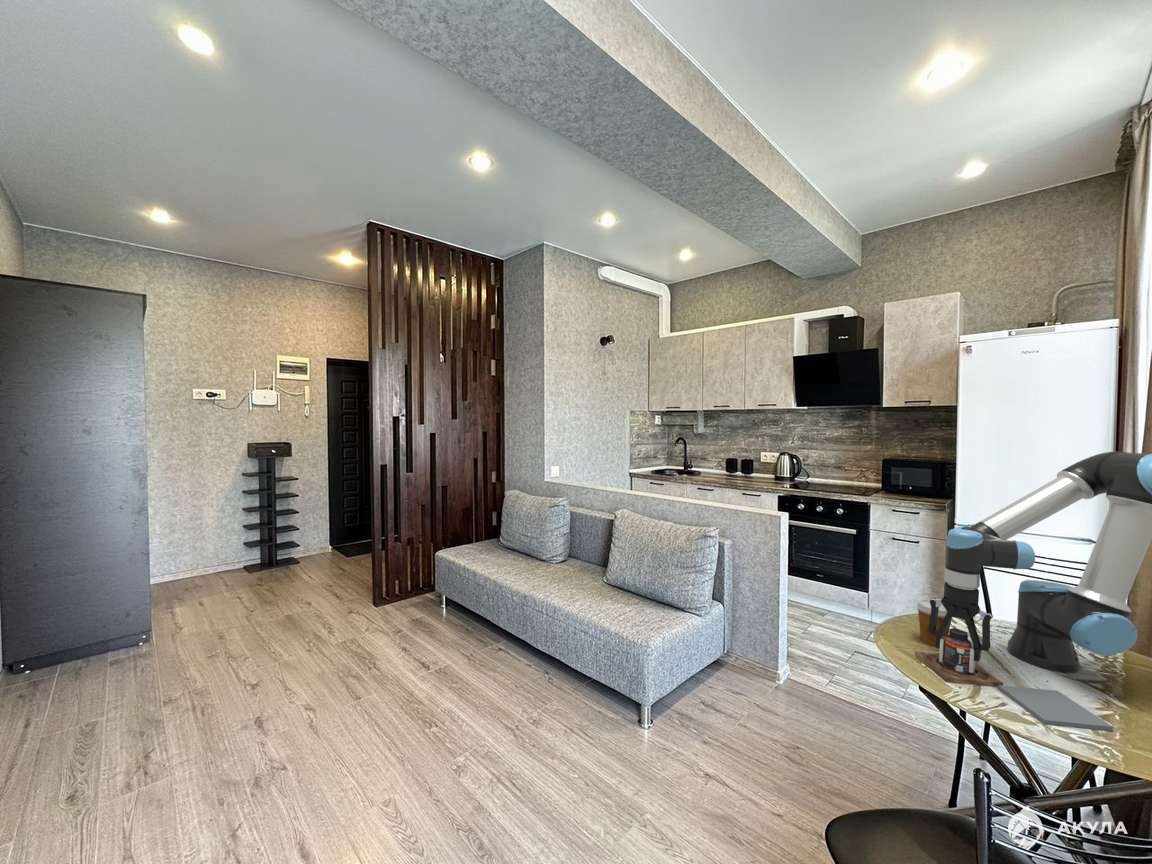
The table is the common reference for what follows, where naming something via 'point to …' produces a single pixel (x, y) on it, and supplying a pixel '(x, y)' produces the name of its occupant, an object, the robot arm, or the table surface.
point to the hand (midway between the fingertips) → (956, 665)
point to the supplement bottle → (957, 651)
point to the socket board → (950, 676)
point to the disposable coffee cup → (924, 619)
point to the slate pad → (1054, 708)
